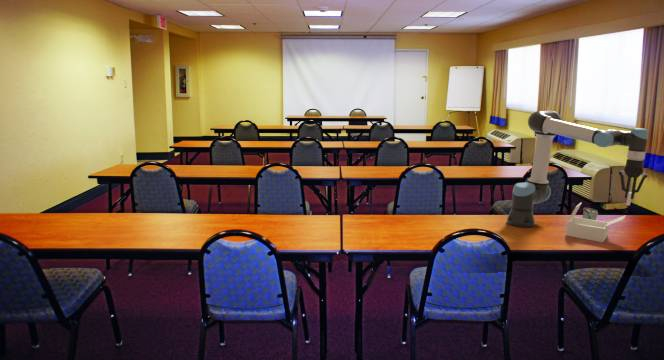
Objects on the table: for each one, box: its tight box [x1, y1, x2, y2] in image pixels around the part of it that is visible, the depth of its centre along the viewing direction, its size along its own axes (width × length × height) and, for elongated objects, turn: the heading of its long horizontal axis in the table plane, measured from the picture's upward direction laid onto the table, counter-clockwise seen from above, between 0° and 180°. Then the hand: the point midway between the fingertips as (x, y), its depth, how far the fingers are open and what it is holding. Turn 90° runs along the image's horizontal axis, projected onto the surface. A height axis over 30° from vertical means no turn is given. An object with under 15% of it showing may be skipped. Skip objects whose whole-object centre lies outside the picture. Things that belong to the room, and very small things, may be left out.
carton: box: [565, 216, 610, 243], centre depth 273 cm, size 18×15×8 cm
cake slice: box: [582, 207, 599, 221], centre depth 290 cm, size 12×6×10 cm, turn 168°
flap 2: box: [605, 215, 627, 228], centre depth 265 cm, size 9×13×1 cm
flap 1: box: [567, 201, 582, 222], centre depth 276 cm, size 9×13×1 cm
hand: (628, 204), depth 260 cm, fingers closed
